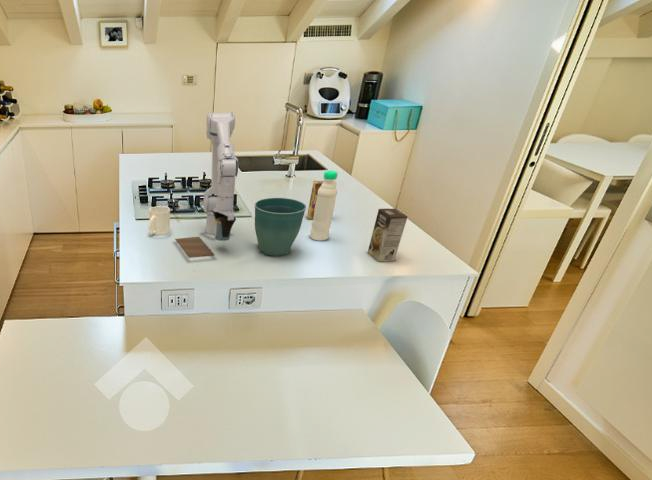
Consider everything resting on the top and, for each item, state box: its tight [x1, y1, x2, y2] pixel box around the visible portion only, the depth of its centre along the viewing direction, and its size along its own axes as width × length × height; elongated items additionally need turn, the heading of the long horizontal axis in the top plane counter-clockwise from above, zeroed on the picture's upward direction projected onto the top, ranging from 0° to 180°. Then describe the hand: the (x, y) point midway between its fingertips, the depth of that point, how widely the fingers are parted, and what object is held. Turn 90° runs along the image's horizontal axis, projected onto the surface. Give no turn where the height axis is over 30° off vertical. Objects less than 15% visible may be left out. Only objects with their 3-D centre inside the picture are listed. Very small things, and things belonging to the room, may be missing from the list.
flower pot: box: [254, 197, 307, 256], centre depth 186 cm, size 18×18×17 cm
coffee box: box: [367, 208, 408, 262], centre depth 180 cm, size 9×6×16 cm
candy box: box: [306, 180, 337, 220], centre depth 216 cm, size 9×4×15 cm, turn 86°
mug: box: [148, 205, 171, 236], centre depth 203 cm, size 12×8×10 cm
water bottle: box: [309, 170, 338, 241], centre depth 194 cm, size 7×7×25 cm
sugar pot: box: [214, 218, 231, 242], centre depth 184 cm, size 6×6×8 cm
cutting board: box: [174, 236, 215, 259], centre depth 192 cm, size 20×10×2 cm, turn 12°
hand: (222, 233), depth 186 cm, fingers closed on sugar pot, 5 cm apart
